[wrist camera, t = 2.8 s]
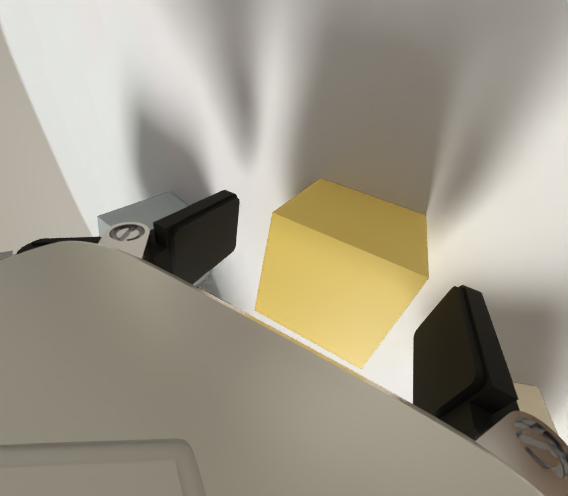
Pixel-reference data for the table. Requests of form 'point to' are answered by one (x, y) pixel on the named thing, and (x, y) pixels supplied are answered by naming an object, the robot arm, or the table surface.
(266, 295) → the mustard cube
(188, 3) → the table surface
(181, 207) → the slate cube
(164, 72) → the table surface
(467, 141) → the table surface
